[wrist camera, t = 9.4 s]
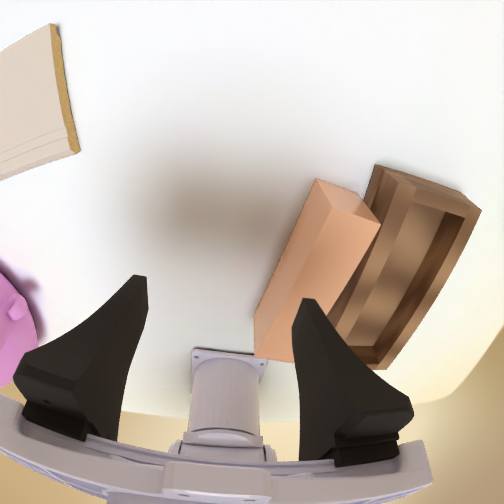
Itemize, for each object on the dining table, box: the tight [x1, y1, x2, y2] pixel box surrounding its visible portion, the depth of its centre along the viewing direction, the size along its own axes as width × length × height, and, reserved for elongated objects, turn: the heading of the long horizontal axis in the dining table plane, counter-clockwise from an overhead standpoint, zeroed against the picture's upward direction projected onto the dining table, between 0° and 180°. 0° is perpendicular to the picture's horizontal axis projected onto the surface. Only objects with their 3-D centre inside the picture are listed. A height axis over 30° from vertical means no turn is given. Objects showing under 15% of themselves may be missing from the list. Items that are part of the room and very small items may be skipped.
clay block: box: [254, 178, 381, 363], centre depth 23 cm, size 14×4×5 cm, turn 162°
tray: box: [326, 164, 482, 370], centre depth 24 cm, size 19×9×4 cm, turn 170°
